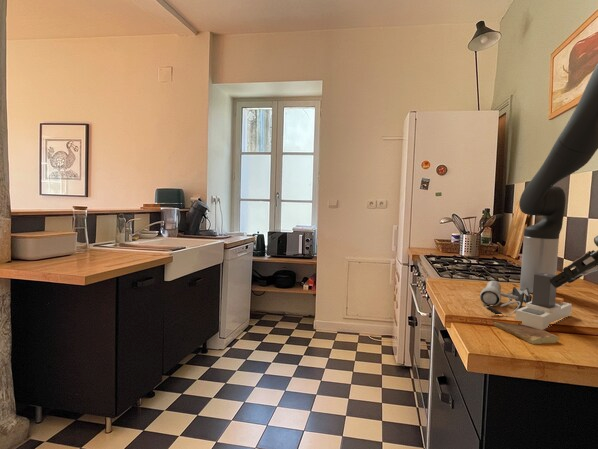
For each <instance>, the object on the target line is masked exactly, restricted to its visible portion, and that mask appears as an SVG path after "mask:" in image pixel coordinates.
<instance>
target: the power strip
mask: <svg viewBox="0 0 598 449" xmlns="http://www.w3.org/2000/svg"><path fill="white" fill-rule="evenodd" d="M572 305H573V304H572V303H569V302H565V301H564V298H562V297H557V296H556V300H555V307H552V308H545V307H541V306H537V305H532V300H531V301H530V302H528V303H525V306H522V308H520V309H517V310H516V311H515V319H517V320H519V321H522V324H521V326H526V327H530V328H535V329H540V330H544V331H545V330H546V329H547V328H549V327H550V326H549V324H550V323H551V322H554V321H556V320H559V319H561V318H563V317H566V316H569V315H571V314H572ZM571 316H572V315H571ZM569 317H570V316H569ZM515 319H514V320H515ZM548 326H549V327H548Z"/></svg>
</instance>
